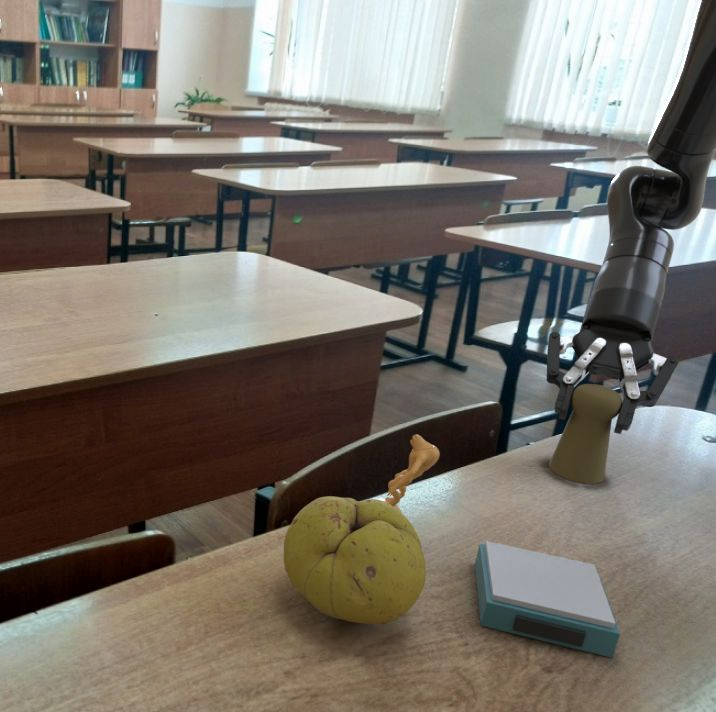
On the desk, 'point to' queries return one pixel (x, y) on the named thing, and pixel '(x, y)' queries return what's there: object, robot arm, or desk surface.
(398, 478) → the figurine
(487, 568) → the scale
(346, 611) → the fruit
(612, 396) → the cork
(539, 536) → the desk surface
